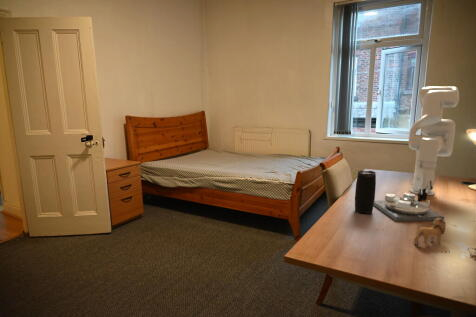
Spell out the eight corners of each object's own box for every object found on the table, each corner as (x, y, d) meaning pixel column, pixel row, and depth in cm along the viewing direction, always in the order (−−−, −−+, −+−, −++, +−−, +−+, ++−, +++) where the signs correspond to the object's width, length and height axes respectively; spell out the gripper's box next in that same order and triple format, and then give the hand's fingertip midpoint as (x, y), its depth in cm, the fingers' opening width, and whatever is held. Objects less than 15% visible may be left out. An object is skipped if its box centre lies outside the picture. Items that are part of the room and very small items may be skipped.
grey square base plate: (372, 204, 156) (372, 200, 156) (413, 204, 157) (414, 200, 157) (395, 221, 135) (396, 216, 134) (443, 220, 135) (444, 216, 135)
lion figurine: (432, 236, 120) (435, 215, 118) (447, 242, 115) (450, 219, 113) (409, 244, 113) (412, 221, 111) (424, 250, 108) (427, 227, 107)
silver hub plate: (389, 199, 158) (390, 189, 157) (429, 206, 147) (431, 196, 146) (381, 208, 144) (382, 198, 143) (425, 217, 133) (427, 206, 132)
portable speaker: (370, 208, 150) (373, 170, 146) (375, 215, 141) (379, 174, 137) (351, 207, 151) (355, 169, 147) (356, 214, 142) (359, 173, 138)
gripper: (411, 160, 149) (406, 196, 153) (425, 167, 134) (420, 207, 138) (427, 161, 148) (422, 197, 152) (443, 168, 133) (438, 208, 137)
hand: (421, 201), depth 145 cm, fingers closed
